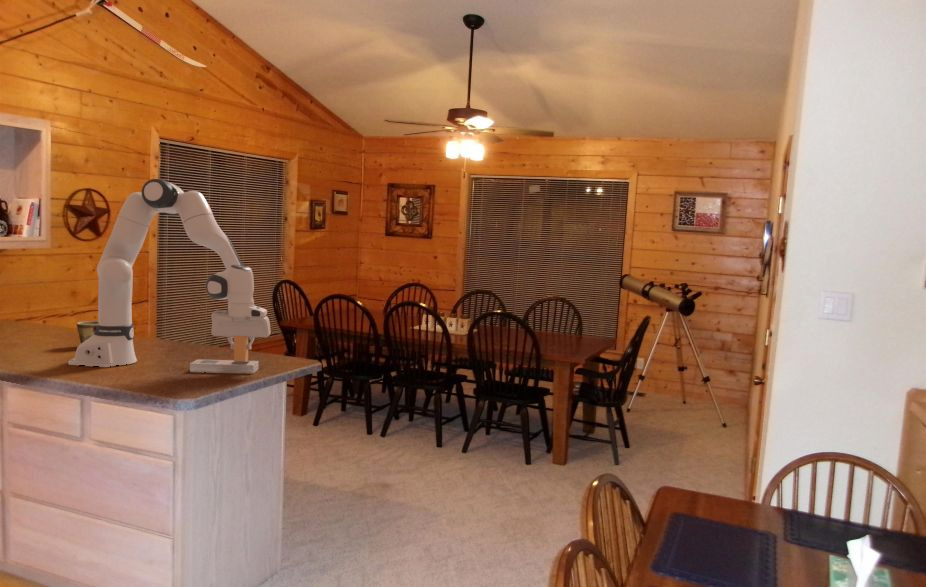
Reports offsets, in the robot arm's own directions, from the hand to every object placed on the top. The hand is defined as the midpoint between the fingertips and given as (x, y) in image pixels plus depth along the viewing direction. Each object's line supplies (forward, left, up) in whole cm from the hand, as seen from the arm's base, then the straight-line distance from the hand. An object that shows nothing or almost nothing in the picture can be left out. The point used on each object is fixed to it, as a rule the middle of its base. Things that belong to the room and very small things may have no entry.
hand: (241, 348), depth 256 cm
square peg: (0, 0, -4) cm, 4 cm away
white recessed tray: (-6, 0, -8) cm, 10 cm away
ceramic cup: (-70, +39, -8) cm, 80 cm away
